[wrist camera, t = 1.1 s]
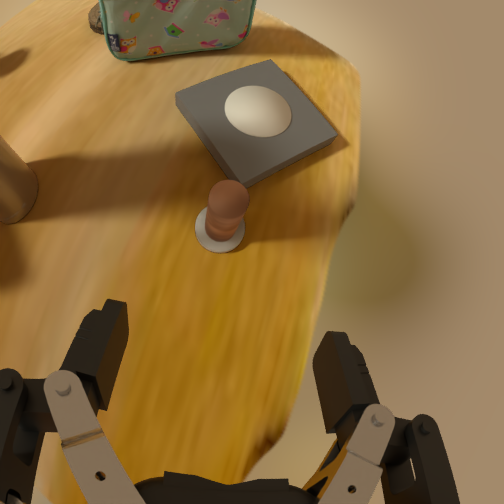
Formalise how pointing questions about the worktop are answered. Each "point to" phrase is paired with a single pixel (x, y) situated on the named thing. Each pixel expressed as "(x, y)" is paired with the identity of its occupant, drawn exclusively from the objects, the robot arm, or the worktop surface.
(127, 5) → the lunch box
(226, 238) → the handle
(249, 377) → the worktop surface
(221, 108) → the plate
